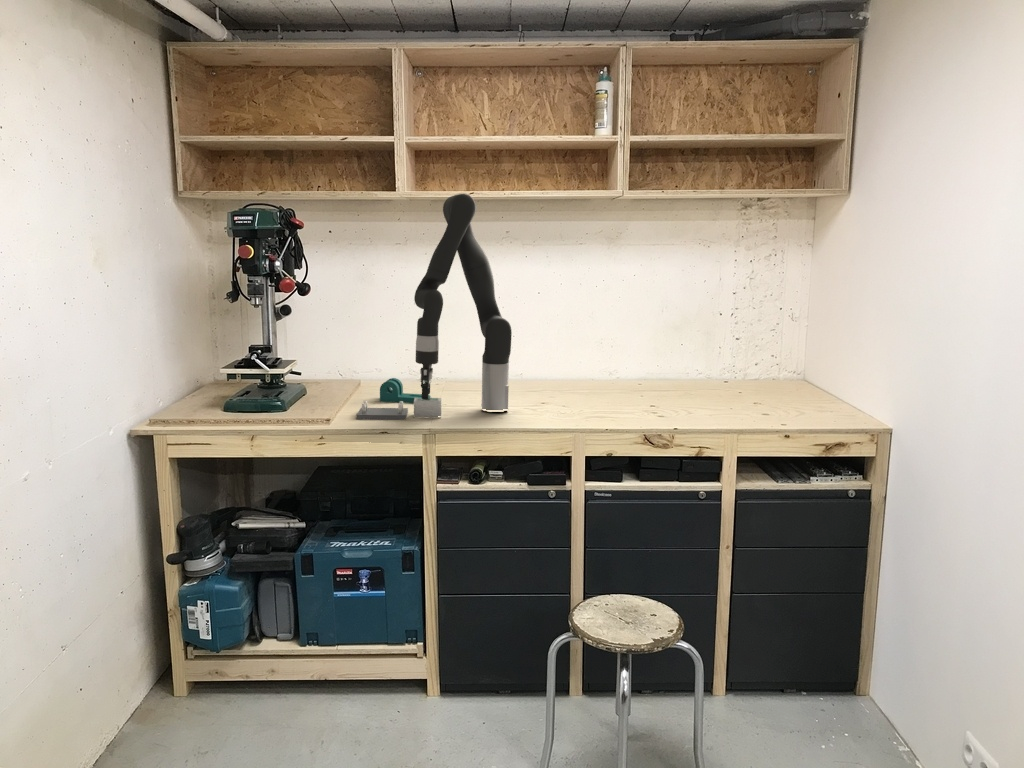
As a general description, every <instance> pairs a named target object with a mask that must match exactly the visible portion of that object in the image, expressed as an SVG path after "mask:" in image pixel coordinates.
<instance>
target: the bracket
mask: <svg viewBox="0 0 1024 768" xmlns="http://www.w3.org/2000/svg"><path fill="white" fill-rule="evenodd" d="M403 387H404V386H403V383H402V381H401V380H400V379H399V378H396V377H391V378H388V379H387V380H385V381H383V383H382V384H381V385H380V387H379V402H380V403H381V402H382V403H398V404H400V401H403V404H414V399H415V398H422V393H408V392H407V393H405V392H403V391H404V388H403ZM428 398H431V395H430V394H429V397H428Z"/></svg>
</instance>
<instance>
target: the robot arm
mask: <svg viewBox="0 0 1024 768" xmlns="http://www.w3.org/2000/svg"><path fill="white" fill-rule="evenodd" d="M476 212H477V204H476V202H475V200H474V198H473V197H472V196H471V195H470V194H468V193H457V194H454V195H452V196H449V197H448V198H446V199H445V201H444V203H443V205H442V213H443V216H444V219H445V221H446V224H447V225H446V227H445V231H444V232H443V235H442V237H441V239H440V240H439V243H438V244H437V245H436V248H435V249H434V251H433V253H432V255H431V258H430V261H429V263H428V267H427V269H426V273H425V275H424V276H423V278H422V279H421V281H420V282H419V284H418V286H417V288H416V289H415V292H414V298H413V299H414V300H413V301H414V303H415V305H416V307H418V308H419V309H422V310H423V311H422V315H421V317H419V318H418V319H417V322H416V326H417V327H416V340H415V363H417V364H419V365H422V367H420V370H419V371H420V373H419V374H420V378H419V379H420V388H421V394H422V399H426V400H427V399H428V397H429V395H430V394H431V383H432V379H433V372H434V369H433V367H432V366H433V365H436V364H438V363H439V349H440V348H439V345H440V344H439V343H440V341H439V323H440V319H441V315H442V312H443V308H444V307H443V306H444V298H443V295H442V293H441V292H440V291H439V287H440V286H441V285H444V284H445V283H446V282H447V279H448V278H449V277H448V276H449V274H450V271H451V268H452V266H453V263H454V260H455V257H456V254H458V257H459V261H460V264H461V268H462V270H463V271H462V272H463V275H464V277H465V280H466V284H467V286H468V290H469V292H470V294H471V297H472V300H473V302H474V304H475V308H476V311H477V316H478V321H479V326H480V331H481V332H480V333H481V334H482V336H483V337H484V351H483V353H482V356H481V358H482V359H481V360H482V361H481V362H482V364H481V365H482V367H481V407H482V409H486V410H503V409H508V410H509V392H510V391H509V390H510V389H509V387H510V386H509V368H510V367H509V363H510V355H511V353H512V352H511V351H512V334H513V333H512V327H511V323H510V322H509V321H508V320H507V319H506V318H504V317H503V316H502V314H501V312H500V308H499V307H498V303H497V300H496V296H495V295H496V293H495V279H494V275H493V271H492V267H491V265H490V261H489V259H488V258H489V257H488V256H487V254H486V252H485V251H484V249H483V247H482V246H481V244H480V243H479V241H478V240H477V238H476V236H475V234H474V231H473V228H472V227H473V226H472V223H471V222H472V221H473V218H474V217H475V215H476Z"/></svg>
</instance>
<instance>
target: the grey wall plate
mask: <svg viewBox="0 0 1024 768" xmlns="http://www.w3.org/2000/svg"><path fill="white" fill-rule="evenodd" d="M408 414H409V408H408V407H404V403H403V401H400V403H398V407H368V400H363V403H361V407H360V409H359V410H358V411H357V413H356V420H387V421H388V420H393V421H394V420H395V421H397V420H401V421H402V420H404V419H407V417H408ZM404 421H405V420H404Z"/></svg>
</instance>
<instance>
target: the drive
mask: <svg viewBox="0 0 1024 768" xmlns="http://www.w3.org/2000/svg"><path fill="white" fill-rule="evenodd" d="M438 416H441V417H442V397H430V398H428V399H427V400H426V399H422V398H415V399H414V403H413V418H414V417H438Z"/></svg>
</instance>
